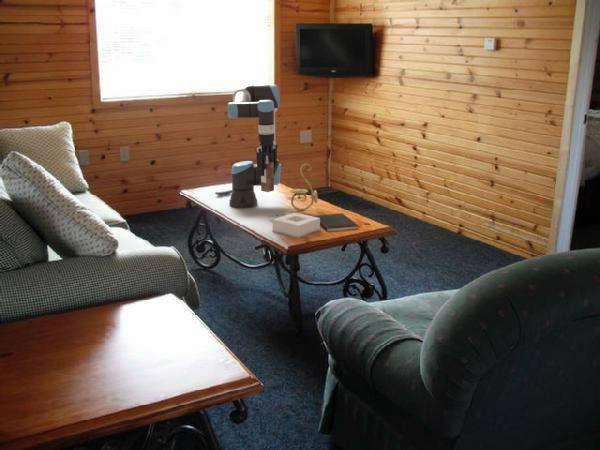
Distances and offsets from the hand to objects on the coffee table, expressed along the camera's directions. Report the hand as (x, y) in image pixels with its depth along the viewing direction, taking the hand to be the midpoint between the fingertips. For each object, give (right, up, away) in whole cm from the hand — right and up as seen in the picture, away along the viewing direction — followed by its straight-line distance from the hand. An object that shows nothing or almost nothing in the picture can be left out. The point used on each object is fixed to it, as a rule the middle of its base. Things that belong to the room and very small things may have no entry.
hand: (267, 181), depth 340 cm
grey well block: (+14, -24, -5) cm, 28 cm away
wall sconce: (+17, -14, +31) cm, 38 cm away
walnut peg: (0, -5, +1) cm, 5 cm away
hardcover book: (+33, -21, +7) cm, 40 cm away
